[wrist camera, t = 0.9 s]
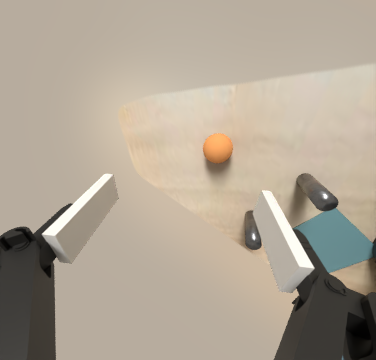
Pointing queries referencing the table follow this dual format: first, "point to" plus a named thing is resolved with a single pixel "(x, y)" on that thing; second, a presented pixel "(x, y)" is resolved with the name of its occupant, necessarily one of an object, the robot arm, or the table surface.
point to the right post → (317, 193)
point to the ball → (217, 148)
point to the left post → (252, 232)
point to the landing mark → (336, 240)
